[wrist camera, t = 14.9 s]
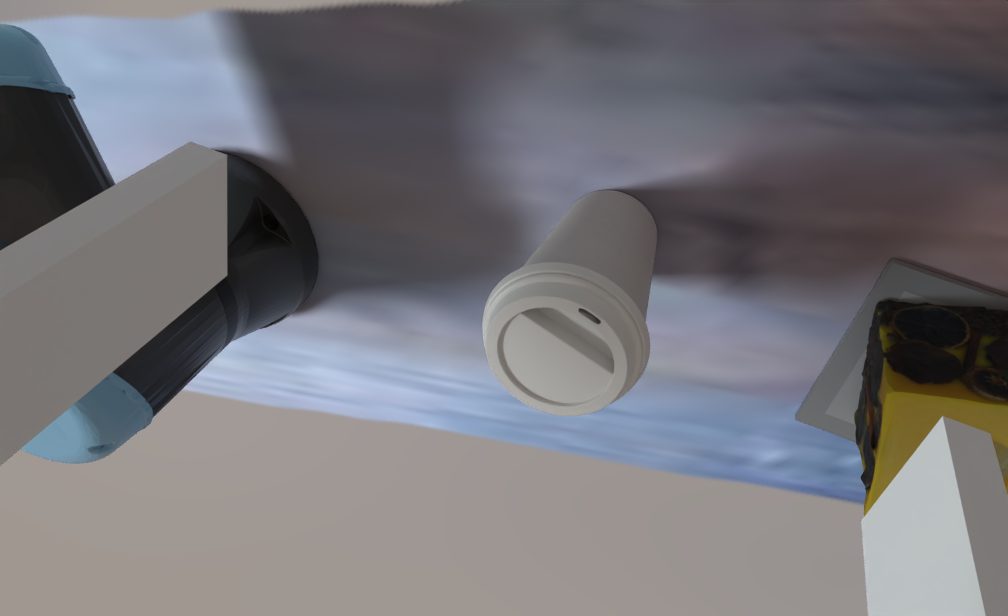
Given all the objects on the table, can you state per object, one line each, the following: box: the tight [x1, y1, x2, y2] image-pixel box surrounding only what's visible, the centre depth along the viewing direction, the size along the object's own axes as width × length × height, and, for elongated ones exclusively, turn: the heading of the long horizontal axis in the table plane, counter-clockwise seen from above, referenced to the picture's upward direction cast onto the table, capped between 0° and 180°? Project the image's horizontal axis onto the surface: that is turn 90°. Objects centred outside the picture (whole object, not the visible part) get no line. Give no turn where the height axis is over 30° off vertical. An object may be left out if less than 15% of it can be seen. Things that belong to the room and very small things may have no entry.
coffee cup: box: [482, 190, 657, 416], centre depth 48 cm, size 10×10×15 cm
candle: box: [854, 300, 1008, 517], centre depth 47 cm, size 10×10×10 cm
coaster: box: [795, 258, 1008, 442], centre depth 52 cm, size 14×14×1 cm
